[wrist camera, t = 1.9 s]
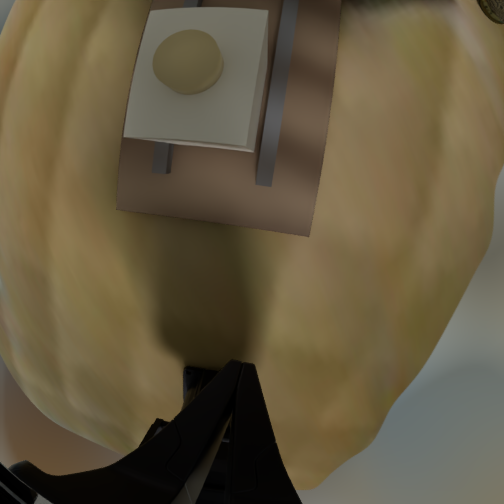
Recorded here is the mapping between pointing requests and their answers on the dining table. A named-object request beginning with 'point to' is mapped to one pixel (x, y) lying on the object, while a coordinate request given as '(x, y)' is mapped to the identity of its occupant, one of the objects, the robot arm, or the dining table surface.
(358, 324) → the dining table surface
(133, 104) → the white block with knob
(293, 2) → the brown board with frame
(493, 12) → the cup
